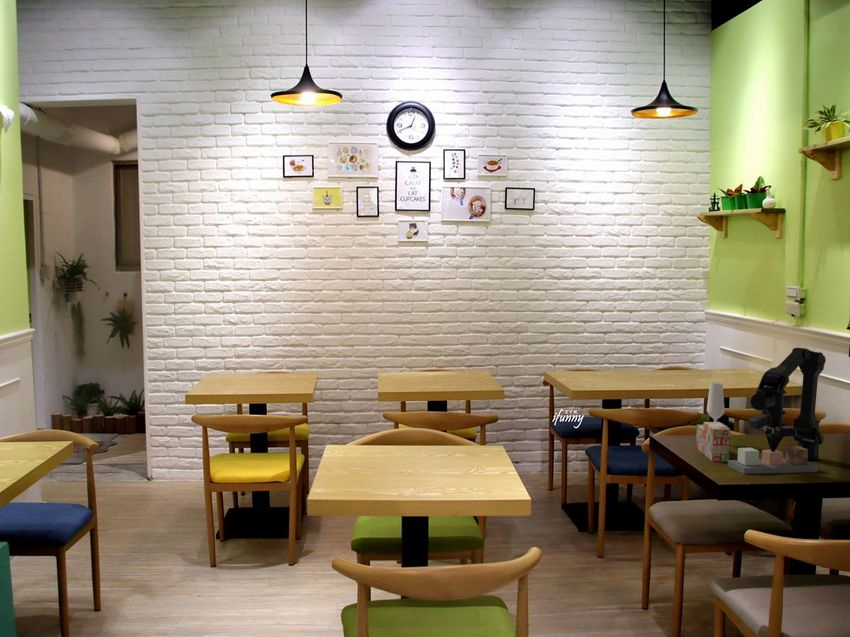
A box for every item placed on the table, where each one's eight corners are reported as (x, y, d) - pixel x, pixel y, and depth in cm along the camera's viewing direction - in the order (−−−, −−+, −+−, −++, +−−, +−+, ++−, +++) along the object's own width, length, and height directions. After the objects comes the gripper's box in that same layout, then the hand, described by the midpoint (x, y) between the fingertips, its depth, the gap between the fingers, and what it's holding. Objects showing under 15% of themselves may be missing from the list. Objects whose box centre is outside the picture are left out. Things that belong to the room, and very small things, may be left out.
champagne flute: (719, 445, 309) (721, 385, 308) (703, 443, 314) (704, 383, 312) (726, 442, 314) (728, 383, 313) (709, 440, 319) (711, 381, 317)
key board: (799, 463, 282) (799, 458, 282) (817, 471, 271) (817, 466, 271) (727, 465, 279) (727, 460, 278) (743, 474, 268) (743, 468, 268)
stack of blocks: (695, 448, 306) (696, 416, 305) (712, 448, 306) (712, 417, 305) (712, 461, 285) (713, 428, 284) (729, 462, 285) (730, 428, 284)
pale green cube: (751, 461, 276) (751, 447, 276) (758, 465, 271) (759, 450, 271) (737, 461, 276) (738, 447, 275) (744, 465, 271) (745, 451, 270)
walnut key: (798, 460, 278) (799, 446, 278) (807, 463, 273) (807, 449, 273) (785, 460, 278) (786, 446, 277) (793, 464, 273) (794, 449, 272)
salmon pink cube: (774, 463, 277) (775, 449, 277) (782, 467, 272) (783, 452, 272) (761, 463, 277) (762, 449, 276) (769, 467, 272) (769, 453, 271)
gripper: (738, 403, 282) (737, 445, 283) (766, 412, 263) (765, 458, 264) (767, 402, 283) (766, 445, 284) (798, 412, 264) (796, 457, 265)
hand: (772, 451), depth 274 cm, fingers closed, pressing on salmon pink cube
